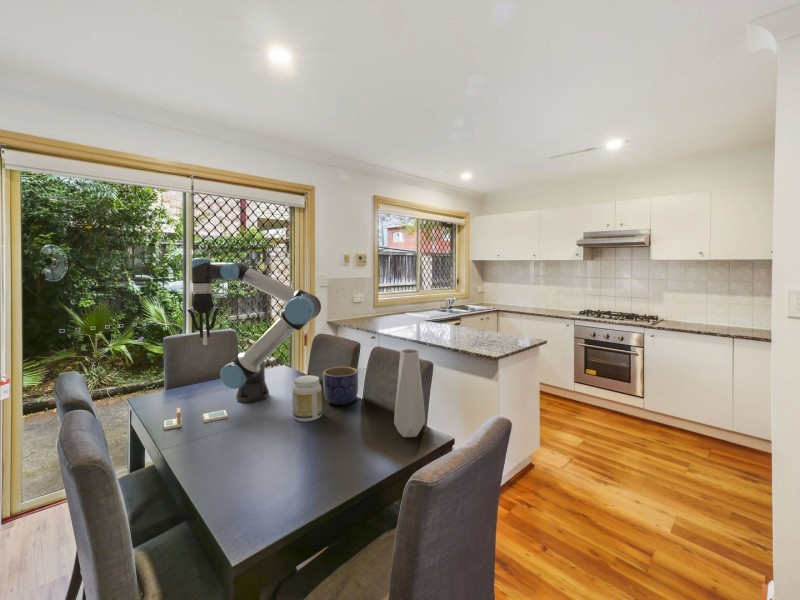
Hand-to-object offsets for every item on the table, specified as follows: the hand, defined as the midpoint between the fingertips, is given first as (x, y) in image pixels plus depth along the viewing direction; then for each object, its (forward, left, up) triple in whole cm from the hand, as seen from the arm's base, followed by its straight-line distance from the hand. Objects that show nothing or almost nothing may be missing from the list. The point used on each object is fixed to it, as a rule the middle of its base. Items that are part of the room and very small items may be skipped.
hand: (205, 344), depth 170 cm
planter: (-55, +25, -30) cm, 68 cm away
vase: (-64, +71, -30) cm, 100 cm away
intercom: (+14, +15, -29) cm, 36 cm away
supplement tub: (-36, +34, -30) cm, 58 cm away
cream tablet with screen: (-1, +15, -29) cm, 33 cm away
